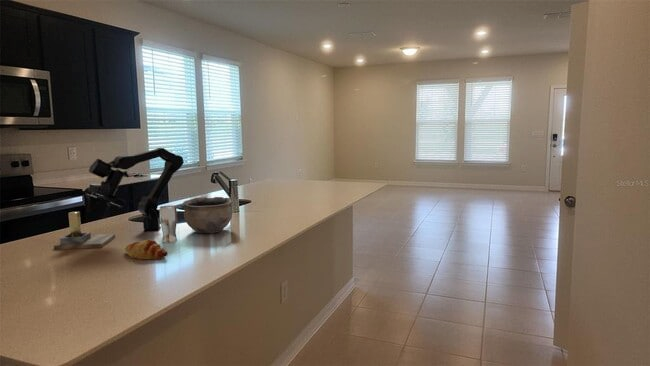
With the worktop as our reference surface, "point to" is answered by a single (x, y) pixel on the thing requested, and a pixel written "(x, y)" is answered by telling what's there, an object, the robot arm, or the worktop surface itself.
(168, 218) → the beer glass
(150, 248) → the croissant
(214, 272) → the worktop surface
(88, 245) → the plate
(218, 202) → the ceramic bowl
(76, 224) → the pale yellow drinking glass
